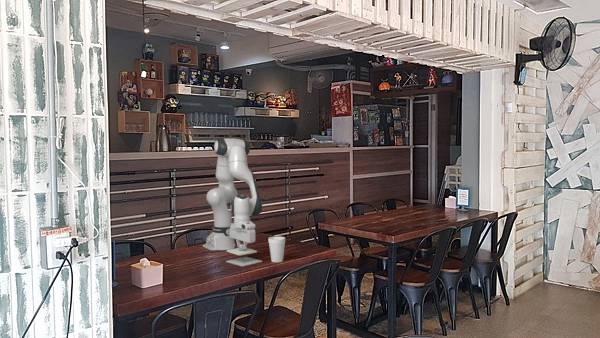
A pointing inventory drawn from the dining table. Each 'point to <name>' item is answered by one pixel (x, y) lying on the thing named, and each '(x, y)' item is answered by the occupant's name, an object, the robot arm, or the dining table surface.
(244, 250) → the lid
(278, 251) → the foam cup
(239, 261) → the mat
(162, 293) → the dining table surface
